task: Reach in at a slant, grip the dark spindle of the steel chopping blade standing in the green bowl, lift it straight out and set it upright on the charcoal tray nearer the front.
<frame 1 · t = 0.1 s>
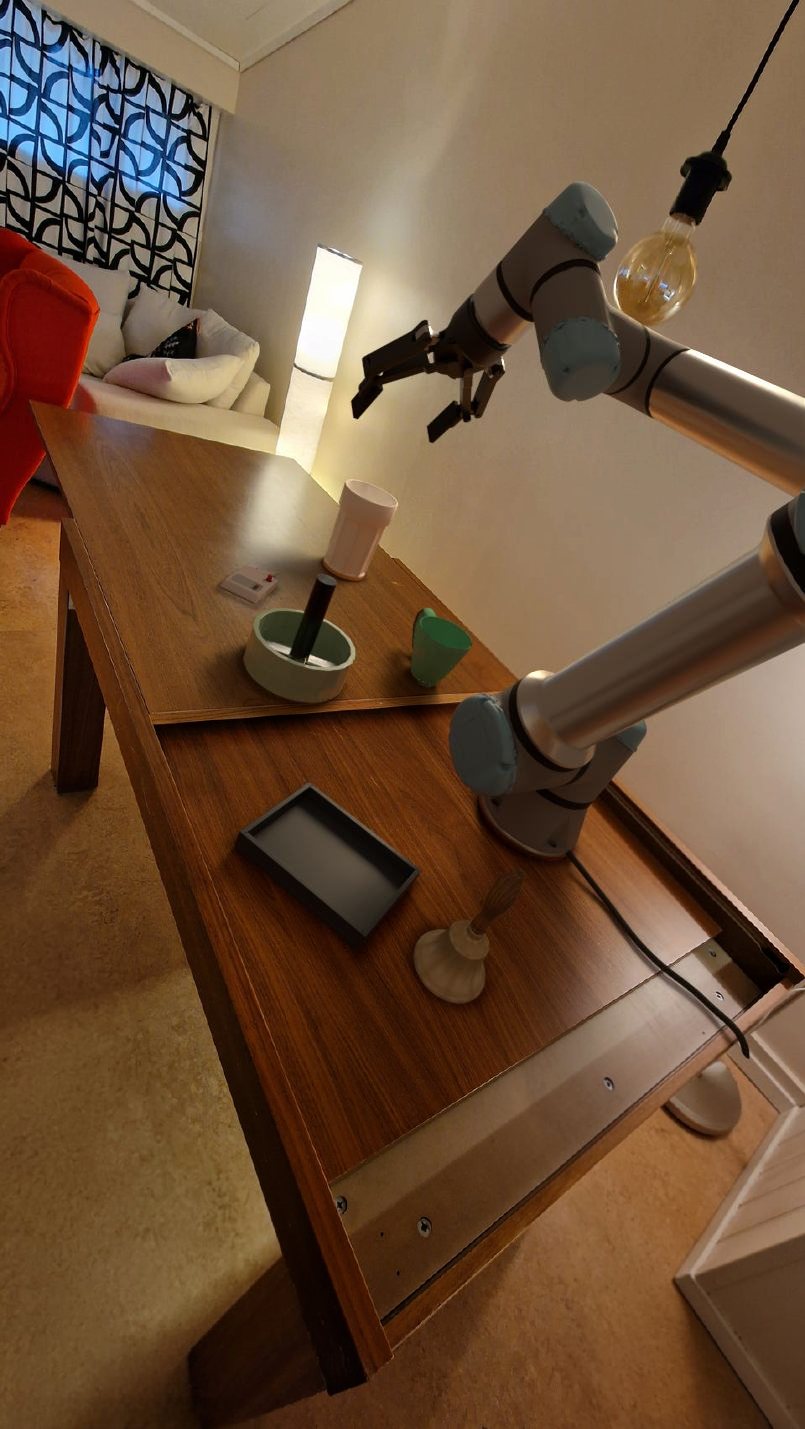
hand: (393, 423, 91), 36 cm above the table, tool tilted 35°, fingers open, 13 cm apart
green bowl: (293, 673, 96), on the table
remote control: (250, 588, 112), on the table
hand bell: (448, 966, 66), on the table
tray: (327, 866, 70), on the table
cup: (343, 570, 133), on the table
mug: (418, 670, 112), on the table
blade: (294, 669, 96), point 1 cm above the table, touching green bowl
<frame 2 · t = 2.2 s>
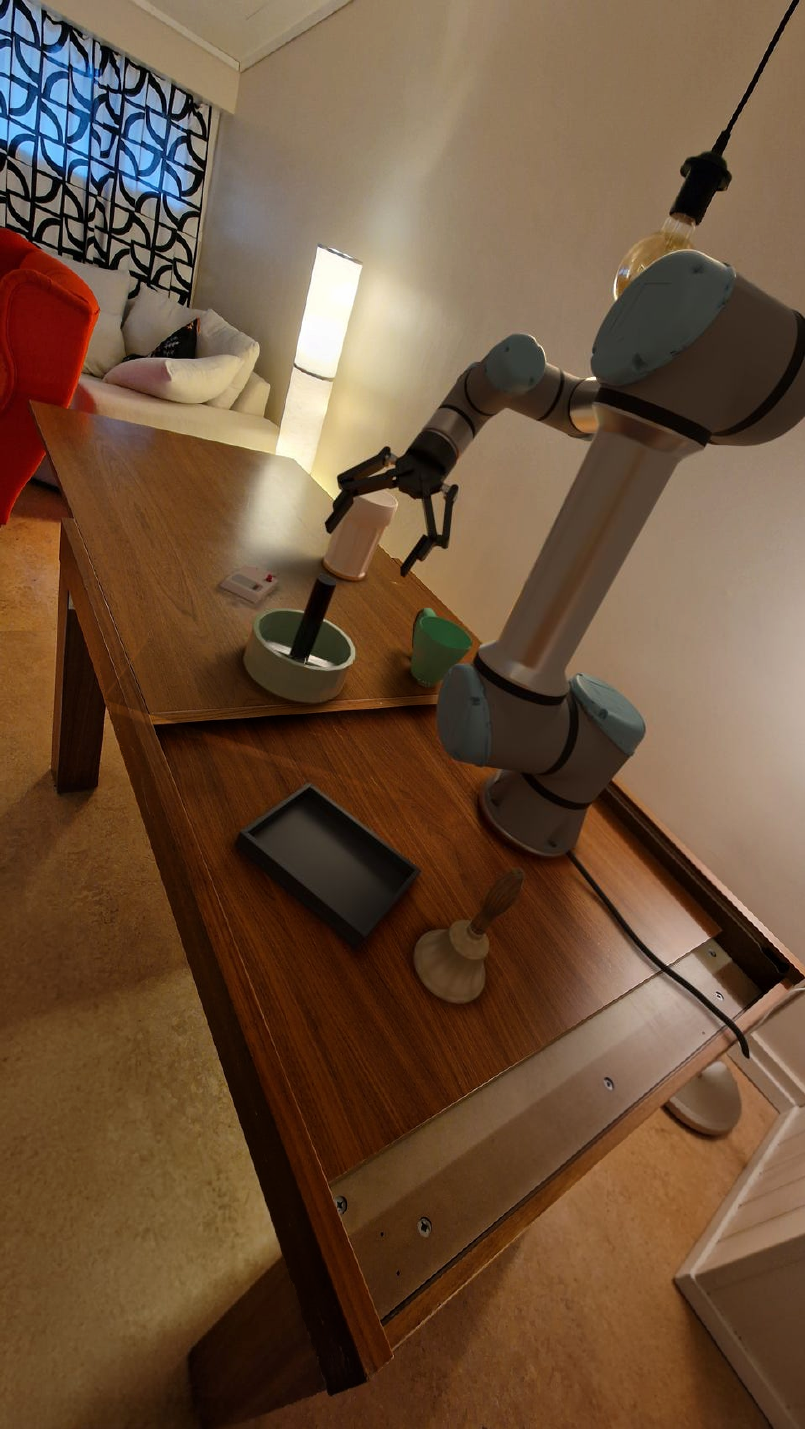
hand: (364, 550, 95), 19 cm above the table, tool tilted 45°, fingers open, 13 cm apart
nothing on the table moved.
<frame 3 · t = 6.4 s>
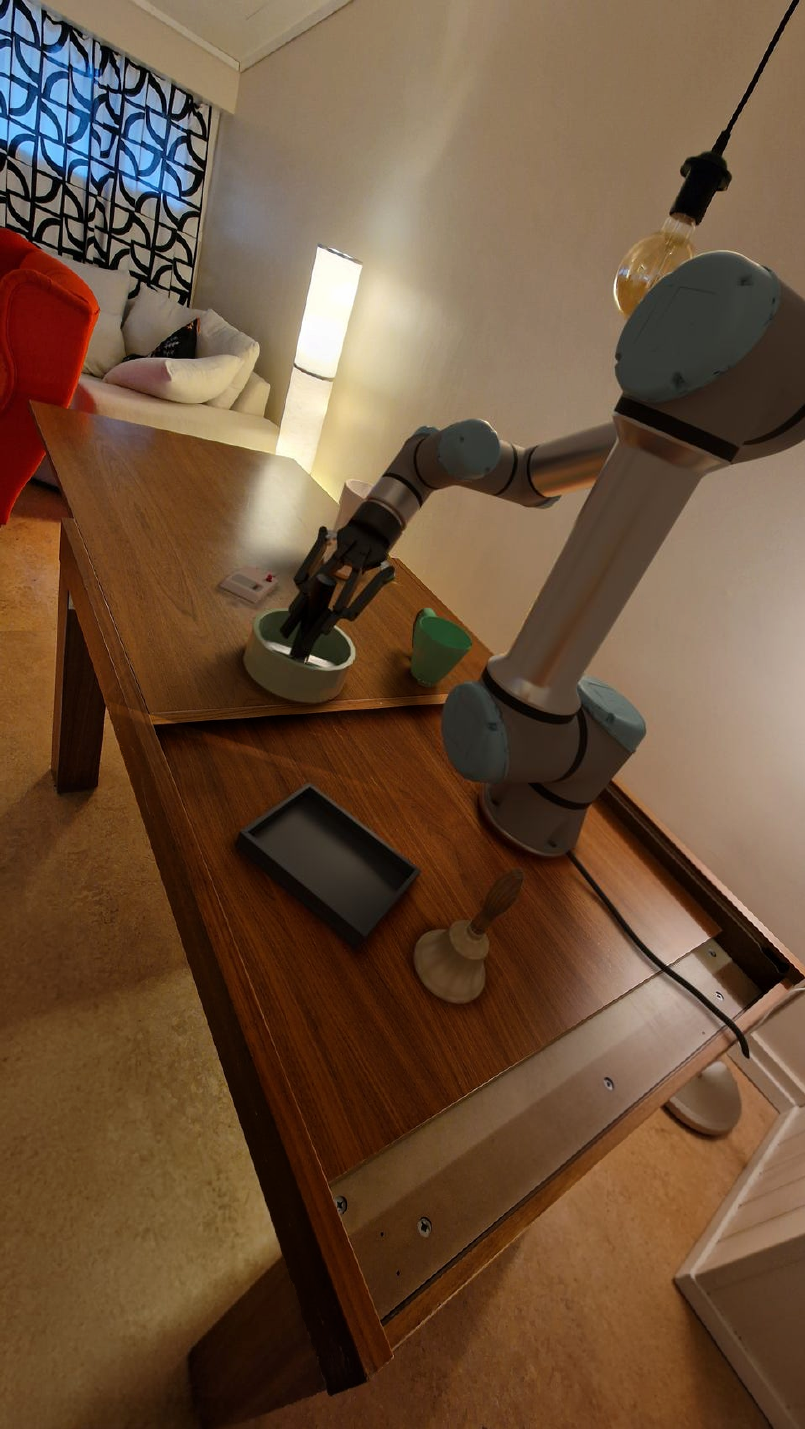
hand: (293, 641, 89), 8 cm above the table, tool tilted 45°, fingers closed on blade, 3 cm apart
blade: (294, 669, 96), point 1 cm above the table, touching gripper, green bowl
everything else where it was.
when the fingers open (8 cm above the table, at t = 17.7 s): blade stays where it is, resting on tray.
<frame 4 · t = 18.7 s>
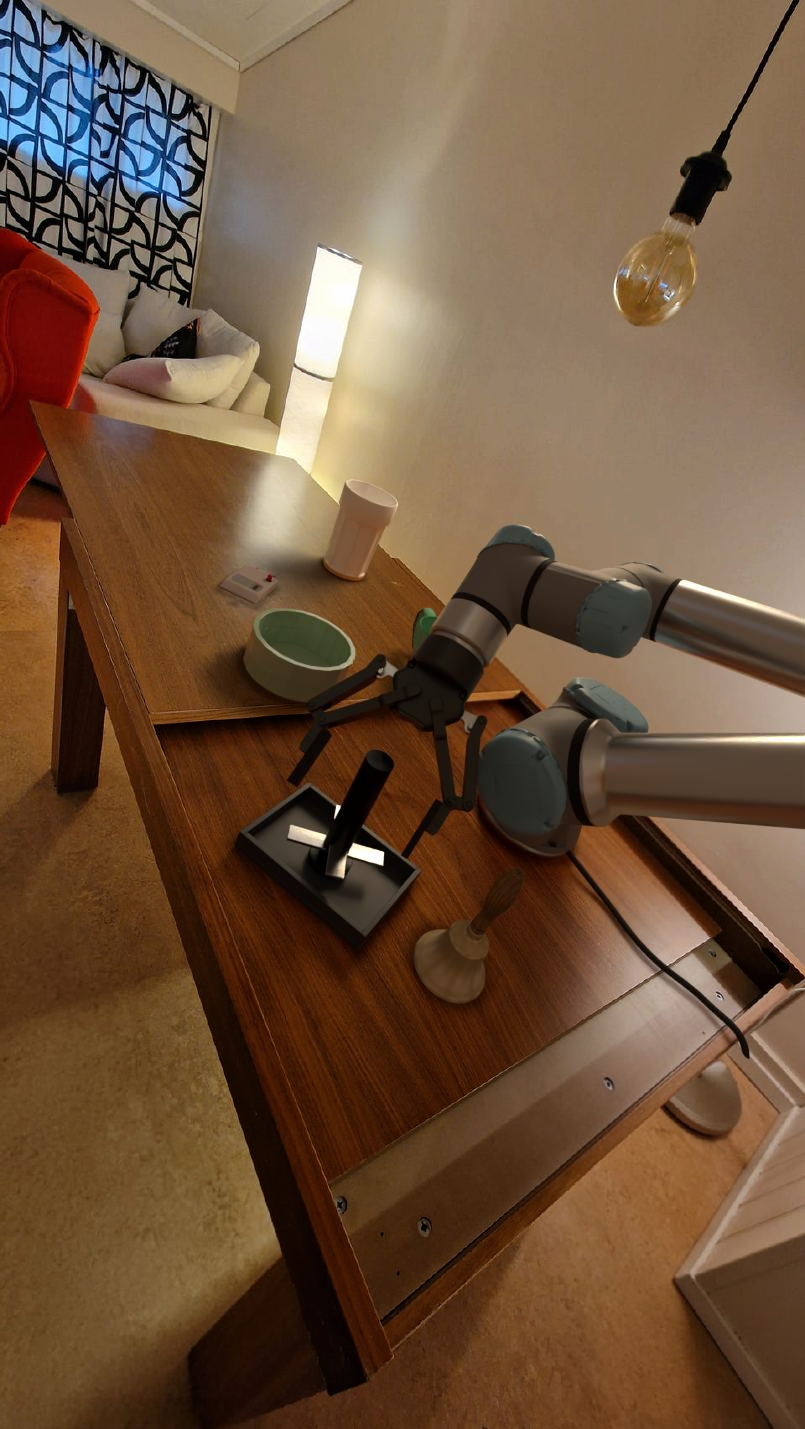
hand: (346, 820, 63), 10 cm above the table, tool tilted 45°, fingers open, 13 cm apart
blade: (329, 860, 70), point 1 cm above the table, touching tray
everything else where it was.
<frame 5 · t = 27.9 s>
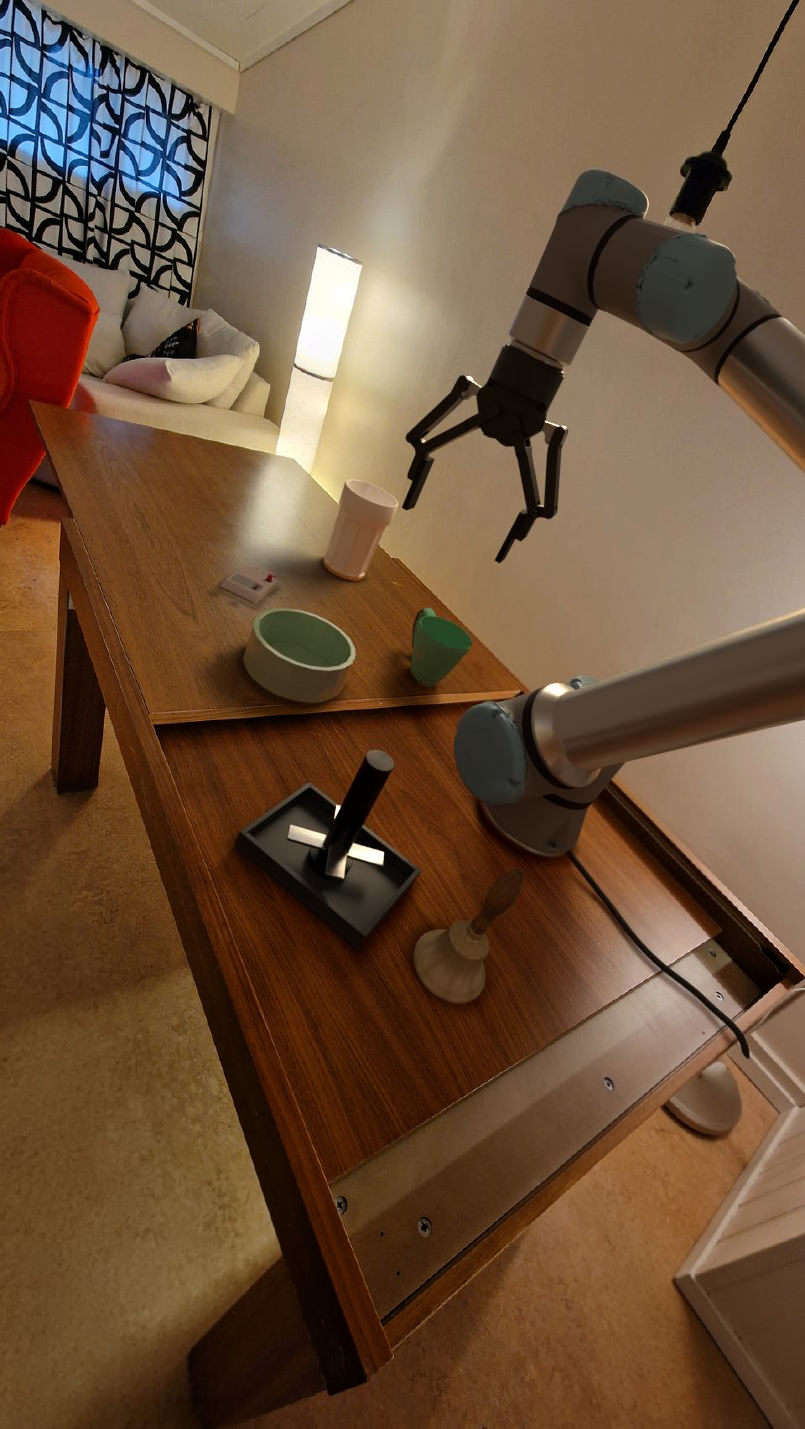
hand: (453, 533, 79), 31 cm above the table, tool pointing down, fingers open, 13 cm apart
nothing on the table moved.
at the end: blade inside the target area in the tray (0.1 cm from its centre), point 0.8 cm above the tray's base; blade tilted 0°; the gripper is holding nothing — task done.
